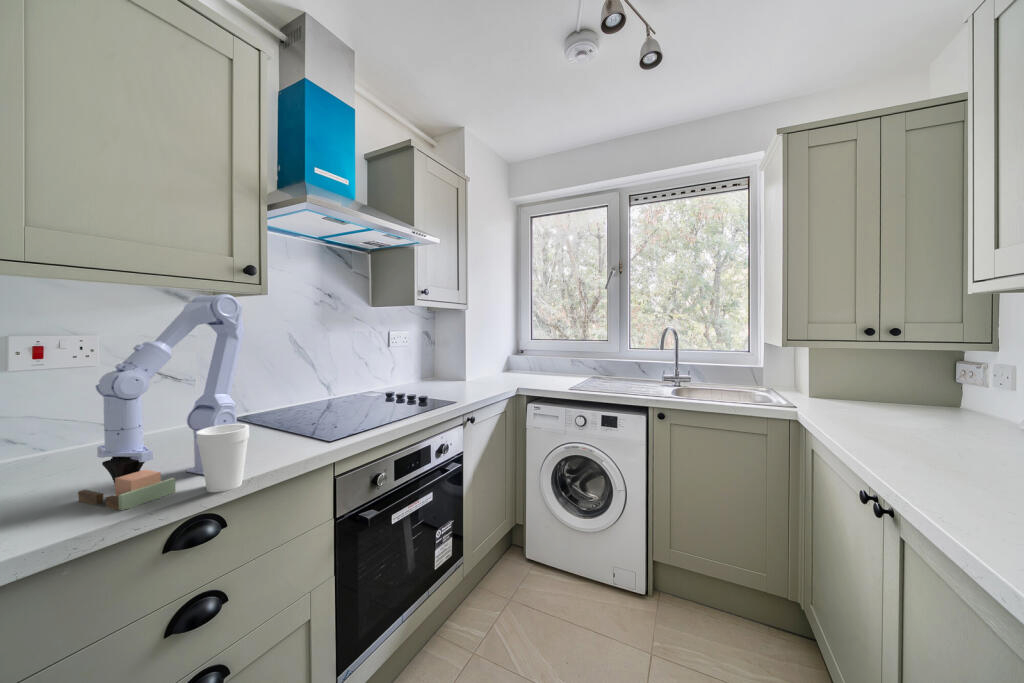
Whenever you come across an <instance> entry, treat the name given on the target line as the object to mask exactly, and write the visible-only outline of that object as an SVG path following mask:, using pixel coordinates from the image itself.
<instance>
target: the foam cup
mask: <svg viewBox="0 0 1024 683" xmlns="http://www.w3.org/2000/svg"><path fill="white" fill-rule="evenodd" d="M249 438H250V426H249V424H246V423H236V424H228V425H219V426H213V427H209V428H205V429H201V430H199V431H197V445H198V446H199V451H200V456H201V462H202V467H203V472H204V475H203V476H204V482H205V487H206V491H207V492H208V491H209V492H208V493H222V492H226V491H231V490H234V489H236V488H238V487H240V486H241V485H243V480H244V479H243V478H244V473H245V464H246V458H247V457H246V456H247V449H248V443H249V441H248V440H249Z"/></svg>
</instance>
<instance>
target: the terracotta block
mask: <svg viewBox="0 0 1024 683" xmlns="http://www.w3.org/2000/svg"><path fill="white" fill-rule="evenodd" d="M161 474H162V473H161V471H156V470H150V469H141V470H140V471H138V472H135V473H131V474H128V475H124V476H121V477H117V478H115V484H114V487H115V488H114V490H115V492H114V493H115V495H114V496H118V497H119V495H120V494H123V493H127V492H130V491H133V490H136V489H139V488H142V487H145V486H148V485H152V484H155V483H158V482H161V481H162V475H161Z"/></svg>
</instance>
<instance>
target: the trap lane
mask: <svg viewBox="0 0 1024 683" xmlns="http://www.w3.org/2000/svg"><path fill="white" fill-rule="evenodd" d="M77 492H78V494H77V496H78V502H81V503H85V504H89V505H95V506H99V507H102V508H108V509H112V510H116V509H117V510H116V511H120V510H124V511H126V510H125V509H127V510H129V509H131V508H130V507H132V508H134V507H133V506H135V507H137V506H136V505H138V506H140V505H139V504H141V505H143V504H145V503H144V502H146V503H148V501H149V502H152V501H154V499H155V500H157V498H158V499H160V498H163V497H166V496H168V494H169V495H171V493H172V494H174V492H175V493H176V478H175V477H171V478H167V479H164V480H161V482H158V483H155V484H152V485H148V486H145V487H142V488H139V489H136V490H133V491H130V492H127V493H123V494H120V495H119V497H118V496H115V495H114V494H112V495H109V496H106V497H105V502H104V493H103V492H98V491H94V490H88V489H82V490H79V491H77ZM165 495H166V496H165ZM162 496H163V497H162ZM151 500H152V501H151ZM142 503H143V504H142ZM128 508H129V509H128Z"/></svg>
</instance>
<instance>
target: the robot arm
mask: <svg viewBox="0 0 1024 683" xmlns="http://www.w3.org/2000/svg"><path fill="white" fill-rule="evenodd" d="M242 313H243V306H242V305H241V303H240V302H239V301H238V300H237V299H236V298H235V297H234V296H233V295H231V294H226V293H224V294H223V293H222V294H216V295H205V294H202V295H196V296H194V298H192V299H191V301H190V302H188V303H186V304H185V305H184V307H183V309H182V311H180V313H179V314H178V315H177V316H176V317H175V318H174V320H172V322H171V323H169V325H168V326H167V327H166V328H165V329H164V330H163V331H162V333H160V334H159V336H157V338H156V339H155V340H154V341H144V342H143V343H142V344H136V345H135V346H134V347H133V348H132V350H134V351H133V352H132V353H131V354H130V355H129V356H127V358H126V359H125V360H124V361H122V362H121V363H117V364H116V365H115V367H114V368H115V370H113V371H109V372H106V373H104V375H102V376H101V378H100V379H99V381H98V384H96V385H95V390H96V392H97V393H98V394H99V395H100V396H101V397H102V398H103V431H104V432H103V433H104V435H103V436H104V444H103V445H98V446H97V449H96V450H97V455H96V457H98V458H104V459H105V458H110V457H111V458H110V459H107V460H104V461H102V462H101V465H102V466H103V467H104V468H105V469H106V470H107V471H108V472H107V473H109V475H110V477H111V478H112V481H113V484H114V485H115V478H117V477H121V476H124V475H128V474H131V473H135V472H138V471H141V470H142V468H143V466H144V464H145V463H146V462H148V461H152V460H154V450H153V449H150V448H148V446H146V445H145V444H144V419H143V418H144V416H143V415H144V410H143V394H144V393H147V392H148V390H149V388H150V381H151V379H152V378H153V377H154V376H155V375H156V374H157V373H158V372H159V371H160V370H161V369H162V368H163V367H164V366H165V365H166V364H167V363H168V362H169V361H170V360H171V359H172V356H173V355H172V353H173V352H172V349H173V348H174V347H176V346H177V345H178V344H179V343H180V342H181V341H182V340H184V338H186V337H187V336H188V335H189V334H191V332H192V331H193V330H194V329H196V327H198V326H199V325H204V324H206V325H208V326H209V327H211V329H212V330H213V331H214V332H215V333H216V339H215V343H214V348H213V351H212V356H211V360H210V365H209V369H208V373H207V377H206V382H205V386H204V390H203V394H202V395H201V396H200V397H198V398H197V399H196V400H195V402H194V405H193V408H192V409H191V410H190V412H189V413H188V415H187V418H186V424H187V426H188V428H189V429H191V430H192V432H193V433H192V434H193V449H194V451H193V454H194V457H193V459H194V466H192V467H190V468H187V469H185V472H186V473H192V474H197V475H203V476H204V472H203V467H202V462H201V456H200V451H199V446H198V445H197V431H199V430H201V429H205V428H209V427H213V426H219V425H228V424H237V418H238V417H237V414H236V406H237V404H236V403H235V401H234V400H233V399H232V397H231V393H232V390H233V386H234V385H233V384H234V381H235V380H234V379H235V376H236V370H237V366H238V362H239V357H240V352H241V347H242V343H243V338H244V333H245V327H244V322H243V318H242Z"/></svg>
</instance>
